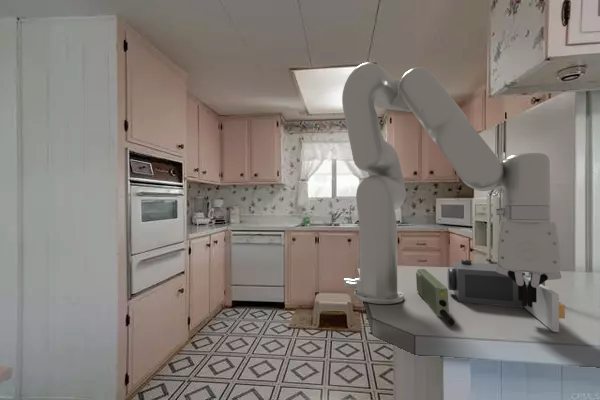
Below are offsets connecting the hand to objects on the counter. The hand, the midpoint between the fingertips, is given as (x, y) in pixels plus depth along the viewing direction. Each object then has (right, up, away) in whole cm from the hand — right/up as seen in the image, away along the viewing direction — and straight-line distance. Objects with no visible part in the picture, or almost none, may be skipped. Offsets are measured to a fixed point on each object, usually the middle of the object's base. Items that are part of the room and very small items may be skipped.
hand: (527, 304), depth 63 cm
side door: (+4, -3, +2) cm, 6 cm away
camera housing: (+1, -4, +16) cm, 17 cm away
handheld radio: (-15, -4, +10) cm, 18 cm away
